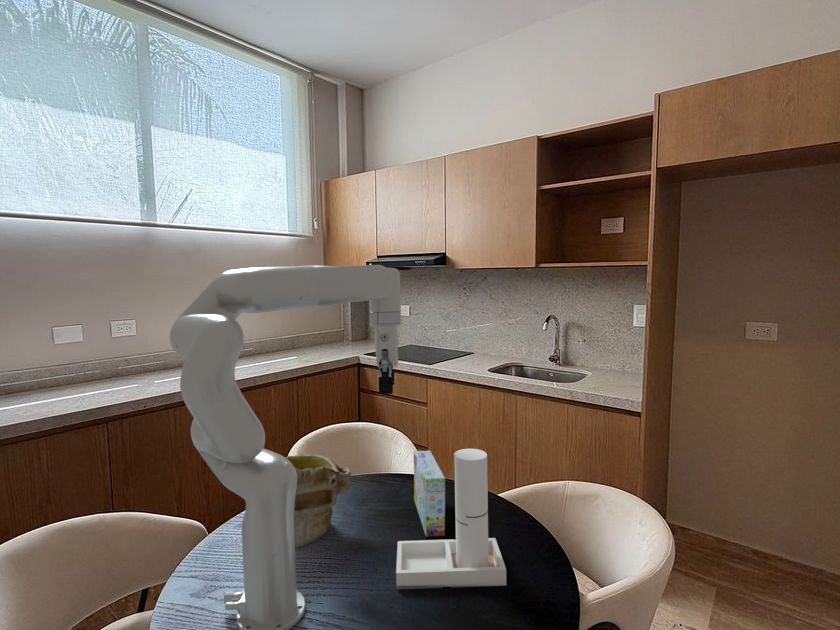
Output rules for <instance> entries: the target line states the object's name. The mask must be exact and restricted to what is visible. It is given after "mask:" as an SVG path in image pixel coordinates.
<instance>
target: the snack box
mask: <svg viewBox="0 0 840 630" xmlns="http://www.w3.org/2000/svg"><path fill="white" fill-rule="evenodd" d="M413 476H414V477H413V501H414V504H415V507H416V509H417V514H418V516H419V519H420V522H421V526H422V529H423V532H424V535H425V537H426V538H427V537H428V538H429V537H444V536H446V534H445V533H446V530H445V529H446V477H445V476H444V474H443V472H442V470H441V468H440V467H439V465H438V463H437V460H436V459H435V457H434V455H433V454H432V451H431V450H419V451H413Z"/></svg>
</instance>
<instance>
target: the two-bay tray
mask: <svg viewBox="0 0 840 630" xmlns="http://www.w3.org/2000/svg"><path fill="white" fill-rule="evenodd" d="M396 549H397V550H396V567H395V575H396V577H395V579H396V581H395V583H396V590H417V589H418V590H419V589H443V587H451V588H473V587H474V588H475V587H479V588H480V587H500V586H503V587H505V586H507V568H506V565H505V562H504V559H503V556H502V553H501V550H500V548H499V545H498V541H497V539H496V537H488V557H489V567H474V568H457V566H456V538H455V539H452V538H451V539H427V540H426V539H424V540H397V548H396Z"/></svg>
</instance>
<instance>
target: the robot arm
mask: <svg viewBox="0 0 840 630" xmlns="http://www.w3.org/2000/svg"><path fill="white" fill-rule="evenodd" d="M366 301H367V302H368V301H369V302H368V303H369V326H370V327H374V336H375V337H374V340H375V341H374V342H375V343H374V344H375V360H376V361H375V362H376V366H377V368H378V369H379V370H378V371H379V374H378V375H379V376H378V394H379V395H393V393H394V385H395V368H397V367H398V365H399V339H398V327H397V326H401V325H402V318H401V317H402V313H401V312H402V310H401V273H400V271H399V269H398V268H394V267H386V266H384V265H381V264H367V265H365V264H363V265H290V266H262V267H261V266H259V267H247V268H246V267H245V268H244V267H243V268H237V269H235V268H234V269H229V270H226V271H224V272H222V273H220V274H219V275H218V276H217V277H216V278H214V280H213V281H211V282H210V283H209V284H208V285H207V286H206V287H205V289H204V290H202V292H201V293H200V294H199V295H198V296H197V297H196V298H195V299H194V300H193V301H192V302H190V303H191V304H190V305H188V306H187V308H185V310H184V311H182V313H181V314H180V315H179V316H178V317H177V318H176V319H175V321H174V323H173V324H172V327H171V328H170V330H169V344H170V345H171V348H172V349H173V351H174V352H175V353H176V354H178V355H179V356H180V357H183V358H185V359H184V362H183V365H182V369H181V374H180V381H179V382H180V384H179V386H180V387H179V390H180V394H181V397H182V399H183V402H184V404H185V406H186V408H187V409H188V410H189V412H190V414H191V416H192V417H193V419H192V422H191V426H190V436H191V441H192V443H193V446H194V447H195V449H196V450H197V451H198V453H199V454H200V457H202V459H203V460H204V461H205V462H206V464H207V465H208V467H209V468H210V470H211V471H212V473H213V474H215V475H214V476H215V477H216V478H217V479H218V480H219V482H220V483H221V484H222V485H223V486H224V487H226V488H227V489H228V490H229V491H231V492H233V493H234V494H236V495H238V496H239V497H241V498H242V499H244V501H245V511H244V514H243V518H242V521H241V522H242V524H241V543H242V544H241V545H242V567H243V569H242V570H243V589H241V591H236V590H235V591H226V592H225V593H224V596H223V602H224V604H225V605H224V606H225V611H233V610H237V614H236V625H237V626H236V627H237V629H238V630H290V629H291V628H292V627H294V626H295V625H296V624H297V623H298V622H299V621H300V620H301V619H302V617H303V616H304V614H305V610H306V600H305V597H304V595H303V594H302V593H301V592H300V591H299V590H297V568H296V567H297V565H296V548H295V535H294V502H295V495H296V489H297V473H296V470H295V468H294V466H293V465H292V463H291V462H290V461H289V460H288V459H286V457H285V456H284V455H281V454H280V453H277V452H275V451H272V450H269V449H266V448H265V442H266V432H265V429H264V427H263V424H262V422H261V421H260V420H259V418H258V417H257V415H256V414H255V412H254V410H253V409H252V407H251V405H250V404H249V402H248V400H246V398H245V396H244V395H243V393H242V391H241V389H240V387H239V386H238V383H237V381H236V378H235V370H236V365H237V362H238V359H239V357H240V355H241V353H242V350H243V348H244V342H245V340H244V339H245V335H244V332H243V328H242V327H241V325H240V323H238V321H237V319H238V317H239V316H240V314H261V313H271V312H278V311H286V310H295V309H307V308H314V307H315V308H316V307H325V306H332V305H338V304H339V305H340V304H345V303H346V304H347V303H356V302H359V303H360V302H366Z"/></svg>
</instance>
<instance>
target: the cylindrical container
mask: <svg viewBox="0 0 840 630" xmlns="http://www.w3.org/2000/svg"><path fill="white" fill-rule="evenodd" d="M453 456H454V459H453V460H454V461H453V462H454V504H455V507H454V509H455V510H454V513H455V539H456V566H457V568H474V567H489V557H488V538H489V503H488V502H489V500H488V499H489V497H488V495H489V493H488V489H489V488H488V485H489V484H488V454H487V452H486V451H484V450H481V449H478V448H462V449H459V450H456V451H455V452H454V454H453Z"/></svg>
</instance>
